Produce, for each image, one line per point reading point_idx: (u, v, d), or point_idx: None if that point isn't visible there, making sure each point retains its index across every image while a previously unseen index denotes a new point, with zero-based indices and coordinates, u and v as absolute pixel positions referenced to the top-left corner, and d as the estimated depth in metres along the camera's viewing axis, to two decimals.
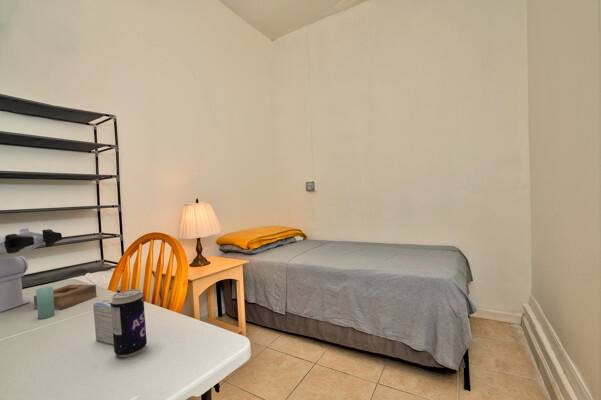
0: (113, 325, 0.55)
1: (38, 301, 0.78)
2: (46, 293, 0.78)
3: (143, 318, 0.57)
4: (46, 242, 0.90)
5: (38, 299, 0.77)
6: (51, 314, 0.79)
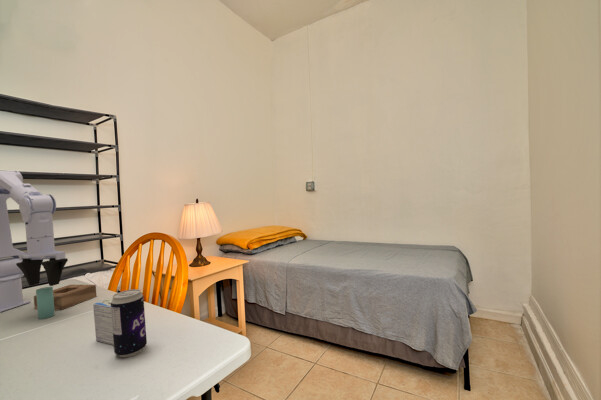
0: (113, 325, 0.55)
1: (38, 301, 0.78)
2: (46, 293, 0.78)
3: (143, 318, 0.57)
4: None
5: (38, 299, 0.77)
6: (51, 314, 0.79)
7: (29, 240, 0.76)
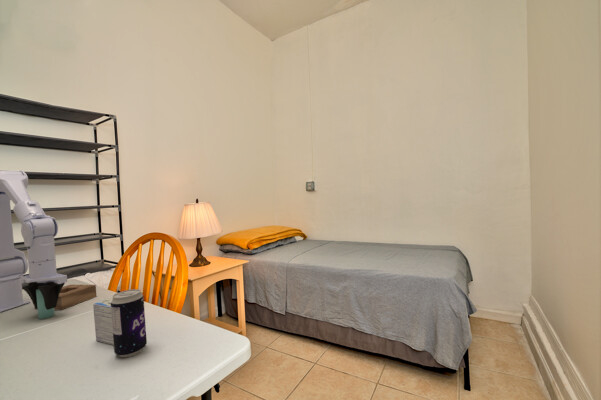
0: (113, 325, 0.55)
1: (38, 301, 0.78)
2: None
3: (143, 318, 0.57)
4: None
5: (38, 299, 0.77)
6: (51, 314, 0.79)
7: (31, 264, 0.76)
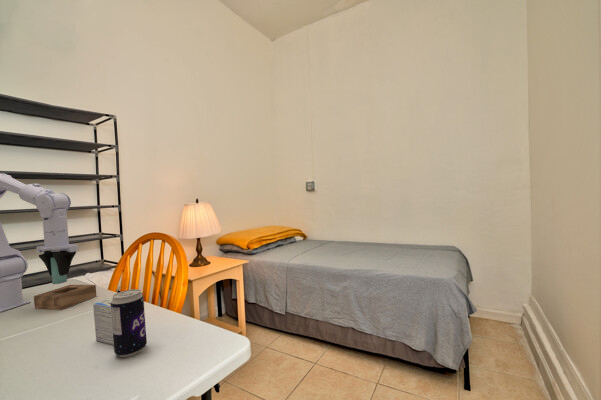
0: (113, 325, 0.55)
1: (52, 268, 0.85)
2: None
3: (143, 318, 0.57)
4: None
5: (52, 266, 0.85)
6: (64, 280, 0.87)
7: (46, 234, 0.84)
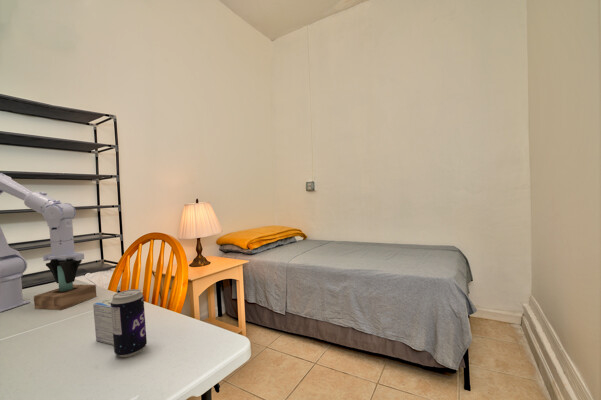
0: (113, 325, 0.55)
1: (59, 276, 0.89)
2: None
3: (143, 318, 0.57)
4: None
5: (59, 274, 0.89)
6: (70, 287, 0.90)
7: (53, 243, 0.87)
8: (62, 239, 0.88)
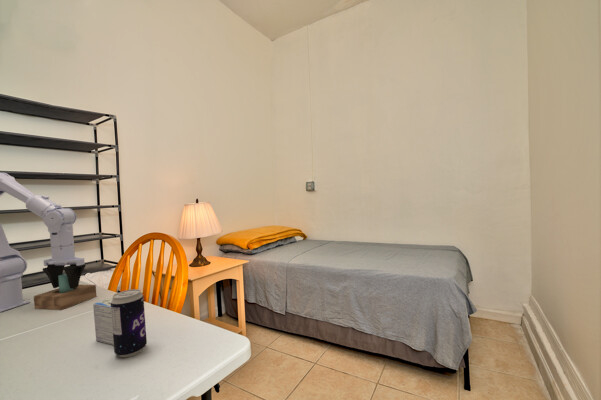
0: (113, 325, 0.55)
1: (60, 285, 0.89)
2: (67, 278, 0.89)
3: (143, 318, 0.57)
4: None
5: (60, 283, 0.89)
6: None
7: (53, 248, 0.87)
8: (62, 244, 0.88)
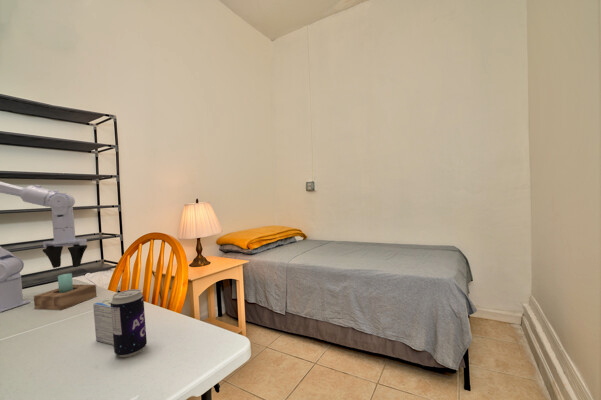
0: (113, 325, 0.55)
1: (60, 285, 0.89)
2: (66, 279, 0.89)
3: (143, 318, 0.57)
4: None
5: (60, 284, 0.89)
6: None
7: (56, 230, 0.93)
8: (68, 225, 0.95)
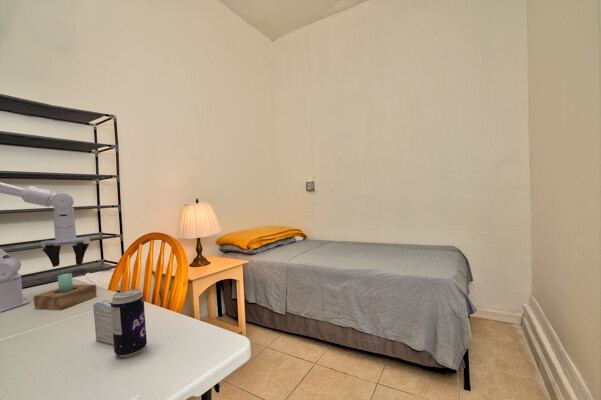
0: (113, 325, 0.55)
1: (60, 285, 0.89)
2: (66, 279, 0.89)
3: (143, 318, 0.57)
4: None
5: (60, 284, 0.89)
6: None
7: (59, 229, 0.96)
8: (71, 225, 0.98)
